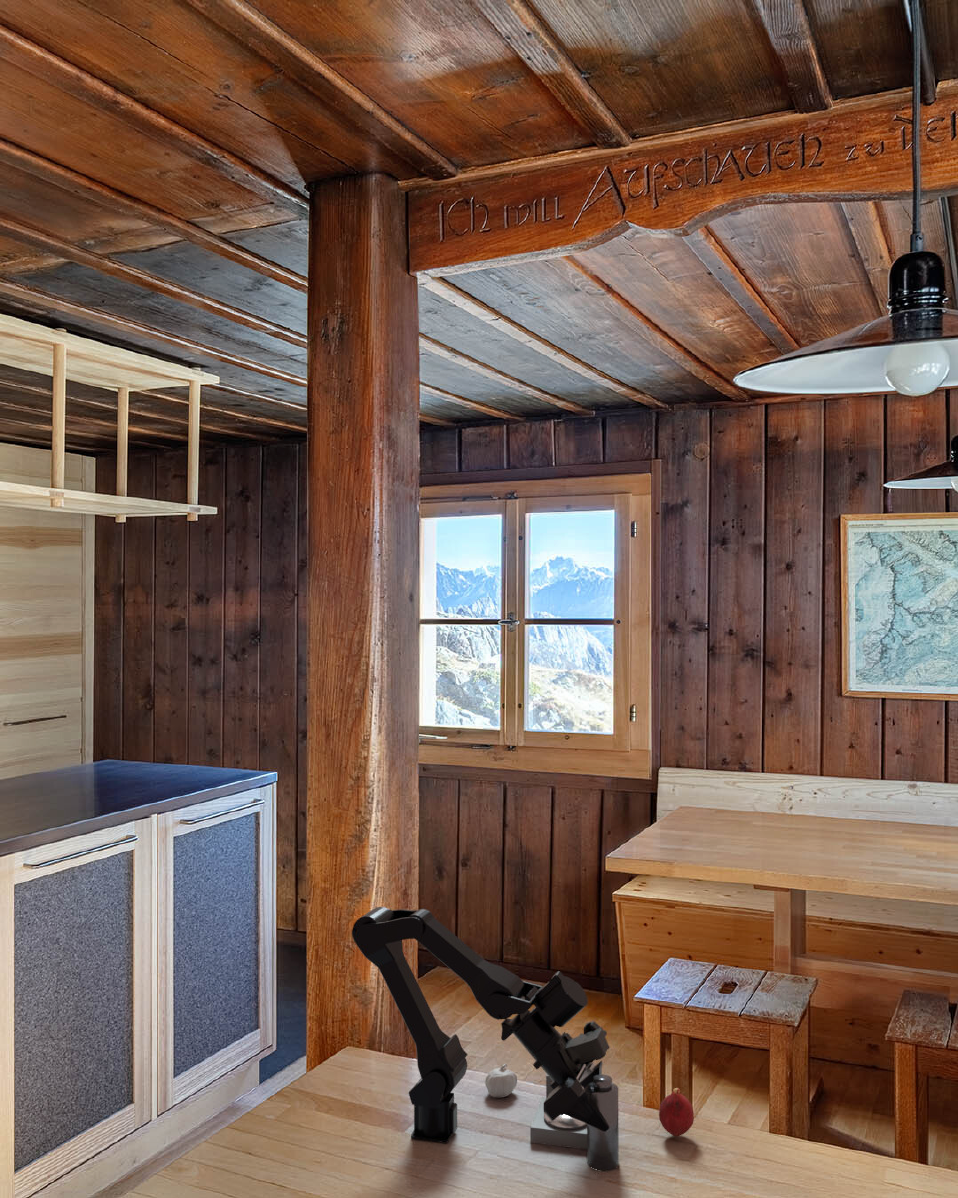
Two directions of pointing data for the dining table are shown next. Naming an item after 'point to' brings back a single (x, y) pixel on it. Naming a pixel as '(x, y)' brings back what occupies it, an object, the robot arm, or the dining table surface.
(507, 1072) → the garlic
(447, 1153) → the dining table surface
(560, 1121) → the scale pan
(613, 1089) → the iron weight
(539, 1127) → the scale
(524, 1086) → the dining table surface
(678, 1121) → the onion
